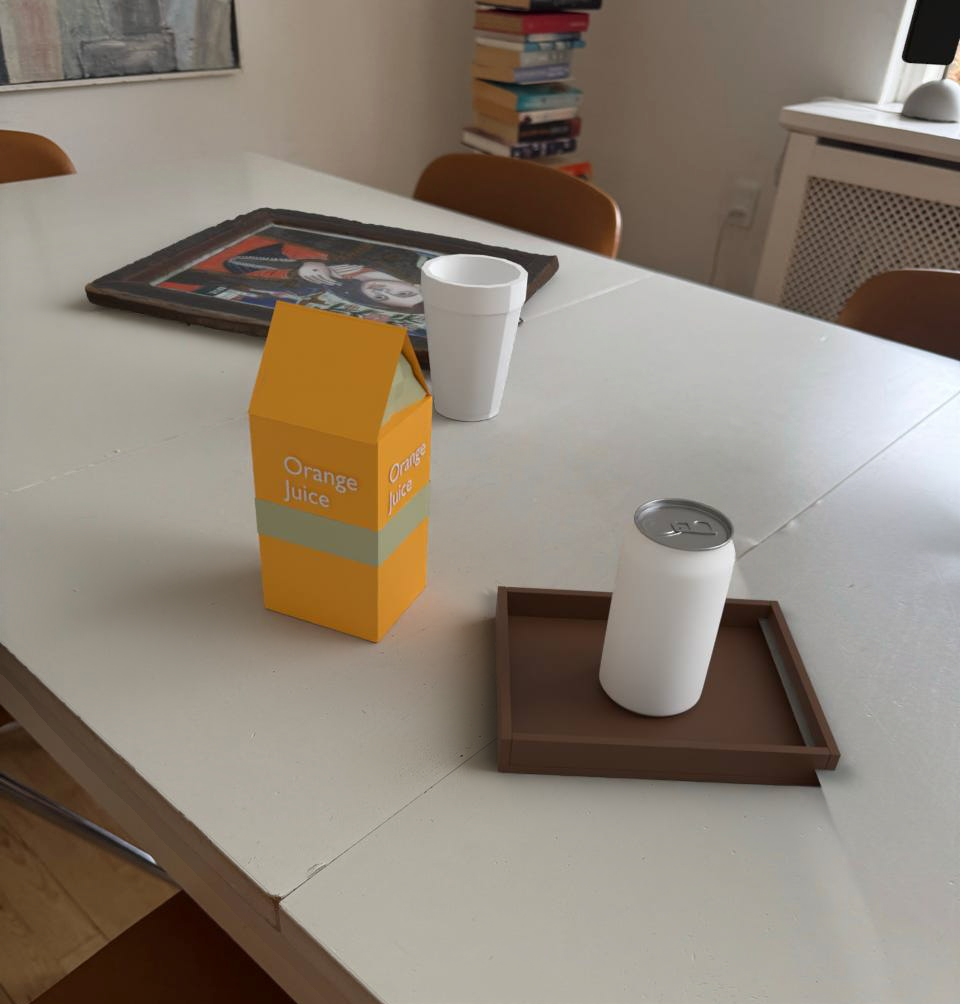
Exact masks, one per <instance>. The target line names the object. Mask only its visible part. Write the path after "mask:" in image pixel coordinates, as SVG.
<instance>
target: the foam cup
mask: <svg viewBox="0 0 960 1004" xmlns="http://www.w3.org/2000/svg"><path fill="white" fill-rule="evenodd" d="M527 277H528V272H527V271H526V270H525V269H524V268H523V267H522V266H521V265H518V264H516V263H513V262H511V261H508V260H506V259H501V258H496V257H491V256H485V255H468V254H457V255H447V256H440V257H437V258H434V259H431V260H428V261H426V262H425V264H424V265H423V266H422V268H421V296H422V297H423V301H424V311H425V321H426V331H427V341H428V351H429V361H430V380H431V389H432V396H433V399H432V401H433V402H434V403H433V407H434V408H435V410H436V411H437V413H438V414H440V415H442V416H444V417H446V418H448V419H451V420H456V421H461V422H479V421H480V422H481V421H486V420H490V419H492V418H494V417H495V416H497V415H498V414H499V411H500V408H501V404H502V400H503V395H504V391H505V386H506V383H507V377H508V373H509V368H510V363H511V360H512V359H511V358H512V354H513V349H514V344H515V340H516V335H517V332H518V331H517V330H518V326H519V324H518V322H520V320H519V317H520V316H521V311H522V308H523V307H524V305H525V304H524V302H525V299H526V288H527ZM523 304H524V305H523ZM520 318H521V317H520Z"/></svg>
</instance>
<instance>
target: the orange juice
mask: <svg viewBox="0 0 960 1004" xmlns="http://www.w3.org/2000/svg"><path fill="white" fill-rule="evenodd" d="M247 414H248V424H249V435H250V437H249V438H250V447H251V460H252V470H253V471H252V472H253V483H254V484H253V486H254V496H255V497H254V507H255V518H256V531H257V534H258V545H259V557H260V567H261V568H260V569H261V582H262V591H263V592H262V593H263V605H264V609H267V610H269V611H272V612H273V611H274V612H277V613H280V614H283V615H286V616H290V617H292V618H296V619H299V620H302V621H306V622H308V623H311V624H316V625H319V626H321V627H325V628H327V629H331V630H334V631H338V632H340V633H344V634H347V635H351V636H354V637H356V638H360V639H362V640H366V641H370V642H373V643H376V644H378V643H379V642H381V640H382V639H383V638H384V636H385V635H387V633H388V632H389V631H390V630H391V628H392V627H393V626H394V625H395V624H396V622H397V621H399V619H400V618H401V617H402V615H404V613H405V612H406V611H407V610H408V608H410V606H411V605H412V604H413V602H414V601H415V600H416V599H417V598H418V597H419V595H420V594H421V593H422V592H423V591H424V590H425V589H426V587H427V564H428V537H429V536H428V535H429V534H428V533H429V515H430V503H431V502H430V501H431V500H430V499H431V478H430V477H431V452H432V451H431V449H432V426H433V425H432V423H433V420H432V419H433V395H431V392H430V391H429V387H428V384H427V382H426V379H425V377H424V375H423V372H422V369H420V366H419V363H418V361H417V358H416V355H415V352H414V350H413V347H412V344H411V342H410V339H409V336H408V334H407V328H404V327H400V326H395V325H390V324H386V323H381V322H377V321H372V320H367V319H363V318H358V317H353V316H349V315H344V314H339V313H335V312H330V311H325V310H321V309H316V308H311V307H307V306H302V305H297V304H293V303H288V302H283V301H279V300H277V302H276V305H275V309H274V313H273V317H272V321H271V325H270V328H269V332H268V336H267V338H266V340H265V344H264V348H263V352H262V356H261V359H260V364H259V368H258V370H257V374H256V379H255V382H254V387H253V390H252V393H251V398H250V402H249V406H248V409H247Z"/></svg>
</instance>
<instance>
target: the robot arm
mask: <svg viewBox="0 0 960 1004" xmlns="http://www.w3.org/2000/svg"><path fill="white" fill-rule="evenodd" d="M959 44H960V0H915V3H914V8H913V11H912V15H911V18H910V23H909V26H908V30H907V35H906V37H905V41H904V45H903V48H902V52H901V60H902V61H903V62H904V63H907V64H913V65H931V66H932V65H933V66H950V65H951V64H952V63H953V62H954V60H955V57H956V54H957V51H958V47H959Z"/></svg>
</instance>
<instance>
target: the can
mask: <svg viewBox="0 0 960 1004" xmlns="http://www.w3.org/2000/svg"><path fill="white" fill-rule="evenodd" d="M734 536H735V526H734V524H733V522H732V521H731V519H730V518H729V517H728V516H727V515H726V514H725V513H723V512H722V511H721V510H719V509H717V508H715V507H713V506H711V505H708V504H706V503H703V502H700V501H696V500H691V499H686V498H680V497H679V498H678V497H677V498H675V497H667V498H658V499H653V500H649V501H647V502H644V503H643V504H641V505H640V506H638V508H637V509H636V510H635V512H634V514H633V521H632V522H631V523H630V525H629V526H628V527H627V529H626V530H625V532H624V534H623V537H622V540H621V546H620V550H619V556H618V560H617V561H618V562H617V565H616V566H617V567H616V571H615V572H616V573H615V578H614V585H613V590H612V592H613V595H612V600H611V606H610V612H609V618H608V623H607V629H606V635H605V641H604V647H603V653H602V659H601V665H600V672H599V679H600V682H601V685H602V687H603V689H604V690H605V692H606V693H607V694H608V695H609V697H610V698H611V699H612V700H613V701H614V702H615V703H616V704H618V705H619V706H621V707H622V708H624V709H626V710H628V711H630V712H633V713H635V714H639V715H643V716H648V717H670V716H674V715H677V714H680V713H682V712H684V711H686V710H688V709H690V708H691V707H692V706H694V705H695V704H696V703H697V701H698V700H699V698H700V695H701V692H702V689H703V685H704V681H705V678H706V674H707V670H708V666H709V662H710V659H711V655H712V651H713V647H714V643H715V639H716V635H717V631H718V627H719V623H720V620H721V616H722V612H723V608H724V604H725V600H726V598H727V596H728V593H729V588H730V583H731V579H732V575H733V571H734V567H735V561H736V549H735V544H734V541H733V538H734Z"/></svg>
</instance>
